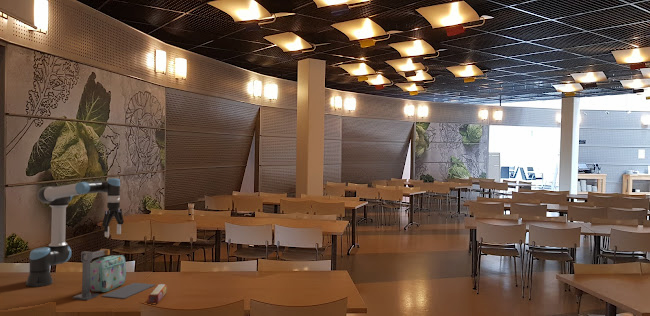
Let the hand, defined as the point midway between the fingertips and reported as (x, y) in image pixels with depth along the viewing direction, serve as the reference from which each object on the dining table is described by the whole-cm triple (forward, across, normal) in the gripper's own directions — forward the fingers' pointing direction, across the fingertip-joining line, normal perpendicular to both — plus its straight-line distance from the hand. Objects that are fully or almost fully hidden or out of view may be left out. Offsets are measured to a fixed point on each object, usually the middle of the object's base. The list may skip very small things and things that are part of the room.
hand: (112, 235), depth 313 cm
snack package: (+35, -14, -43) cm, 57 cm away
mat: (+34, -4, -16) cm, 38 cm away
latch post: (+34, -24, 0) cm, 41 cm away
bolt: (+11, -16, 0) cm, 19 cm away
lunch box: (+34, -4, 0) cm, 35 cm away
